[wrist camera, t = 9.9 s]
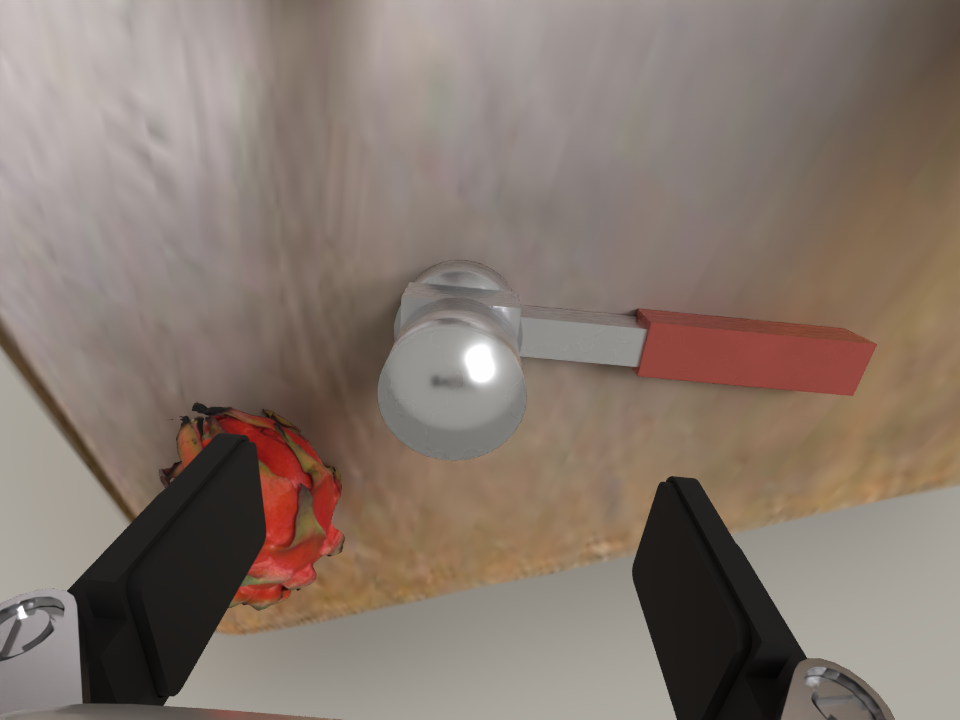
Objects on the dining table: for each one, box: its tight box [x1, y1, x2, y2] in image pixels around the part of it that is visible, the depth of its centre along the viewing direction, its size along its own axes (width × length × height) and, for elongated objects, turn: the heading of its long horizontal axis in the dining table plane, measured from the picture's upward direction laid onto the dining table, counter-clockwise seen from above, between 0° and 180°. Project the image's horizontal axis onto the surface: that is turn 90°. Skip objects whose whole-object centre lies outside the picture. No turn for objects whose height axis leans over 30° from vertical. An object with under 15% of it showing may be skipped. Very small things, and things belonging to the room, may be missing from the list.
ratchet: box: [394, 260, 877, 396], centre depth 23 cm, size 23×6×5 cm, turn 84°
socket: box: [377, 282, 526, 460], centre depth 19 cm, size 5×5×6 cm
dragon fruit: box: [159, 403, 345, 611], centre depth 25 cm, size 8×8×12 cm
